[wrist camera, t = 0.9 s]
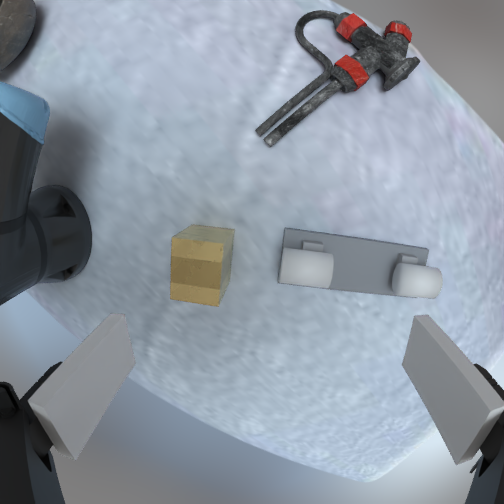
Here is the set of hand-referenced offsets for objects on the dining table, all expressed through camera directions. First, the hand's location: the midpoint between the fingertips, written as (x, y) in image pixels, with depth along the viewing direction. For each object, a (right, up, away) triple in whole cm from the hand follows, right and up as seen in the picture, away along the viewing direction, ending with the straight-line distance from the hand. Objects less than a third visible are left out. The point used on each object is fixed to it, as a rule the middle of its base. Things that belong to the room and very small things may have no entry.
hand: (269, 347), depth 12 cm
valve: (+9, +28, +20) cm, 35 cm away
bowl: (-46, +45, +19) cm, 67 cm away
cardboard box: (-6, +4, +27) cm, 28 cm away
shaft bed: (+13, +3, +25) cm, 29 cm away
